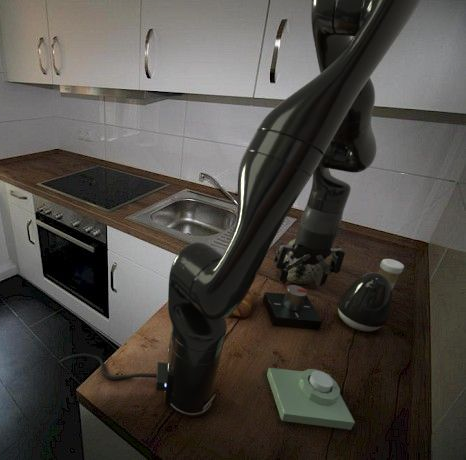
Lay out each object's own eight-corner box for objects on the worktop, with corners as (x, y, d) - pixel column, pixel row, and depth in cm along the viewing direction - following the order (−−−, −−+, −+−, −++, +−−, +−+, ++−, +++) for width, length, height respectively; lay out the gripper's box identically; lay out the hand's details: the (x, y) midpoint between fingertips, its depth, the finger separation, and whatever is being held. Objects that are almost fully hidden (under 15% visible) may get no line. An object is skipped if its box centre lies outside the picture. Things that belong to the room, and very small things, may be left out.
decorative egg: (277, 265, 104) (289, 225, 97) (318, 277, 98) (333, 235, 91) (271, 284, 95) (284, 241, 88) (316, 297, 89) (332, 252, 82)
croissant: (227, 286, 94) (229, 276, 92) (262, 304, 87) (265, 294, 85) (204, 304, 87) (205, 293, 85) (240, 326, 79) (243, 314, 78)
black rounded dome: (327, 323, 80) (347, 274, 73) (339, 304, 87) (358, 257, 80) (376, 345, 74) (403, 294, 67) (384, 323, 80) (409, 274, 73)
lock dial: (285, 310, 80) (291, 294, 78) (280, 299, 84) (285, 283, 82) (304, 312, 80) (310, 295, 77) (297, 300, 83) (303, 284, 81)
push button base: (281, 421, 58) (286, 407, 56) (266, 374, 67) (270, 361, 65) (351, 430, 57) (359, 416, 55) (326, 381, 65) (332, 368, 64)
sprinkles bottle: (362, 296, 90) (380, 256, 84) (381, 300, 88) (401, 260, 82) (366, 306, 86) (385, 265, 80) (386, 310, 85) (407, 269, 78)
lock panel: (272, 326, 79) (275, 316, 78) (262, 300, 88) (264, 291, 87) (319, 330, 78) (322, 321, 77) (303, 303, 87) (307, 294, 85)
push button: (313, 391, 59) (316, 385, 59) (306, 375, 63) (308, 369, 62) (333, 394, 59) (336, 388, 58) (325, 377, 62) (327, 371, 61)
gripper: (291, 230, 68) (274, 290, 76) (362, 235, 67) (337, 295, 74) (280, 216, 75) (266, 272, 83) (344, 219, 73) (324, 276, 81)
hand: (300, 283), depth 78 cm, fingers open, 8 cm apart
